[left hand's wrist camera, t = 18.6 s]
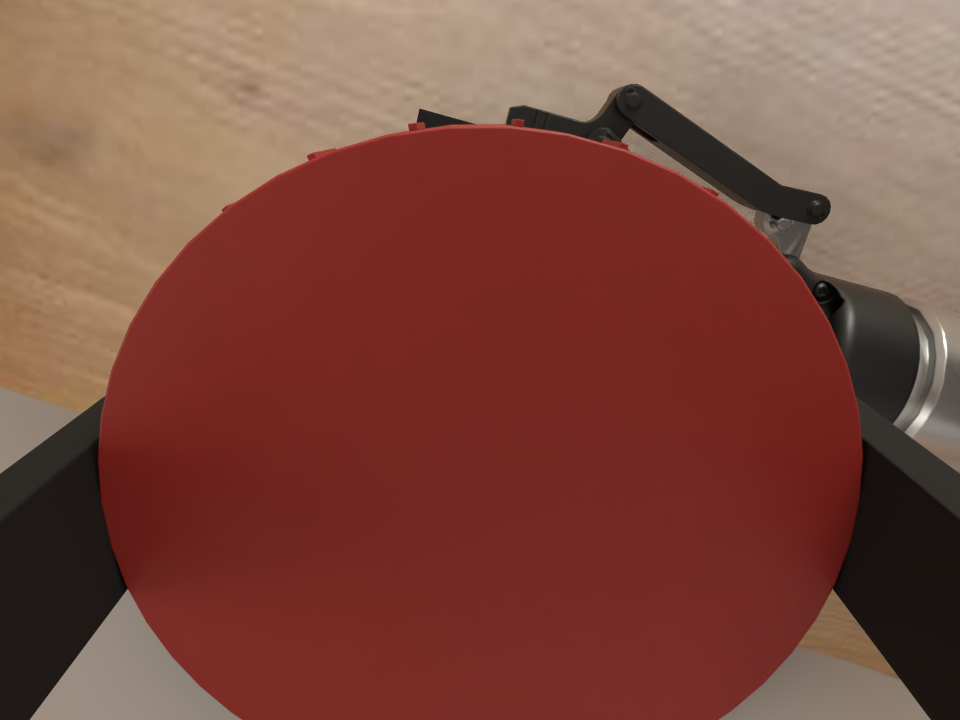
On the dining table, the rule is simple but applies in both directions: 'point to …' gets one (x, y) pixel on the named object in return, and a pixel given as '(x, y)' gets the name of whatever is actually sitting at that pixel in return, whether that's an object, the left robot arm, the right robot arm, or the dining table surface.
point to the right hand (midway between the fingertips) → (391, 251)
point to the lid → (480, 440)
